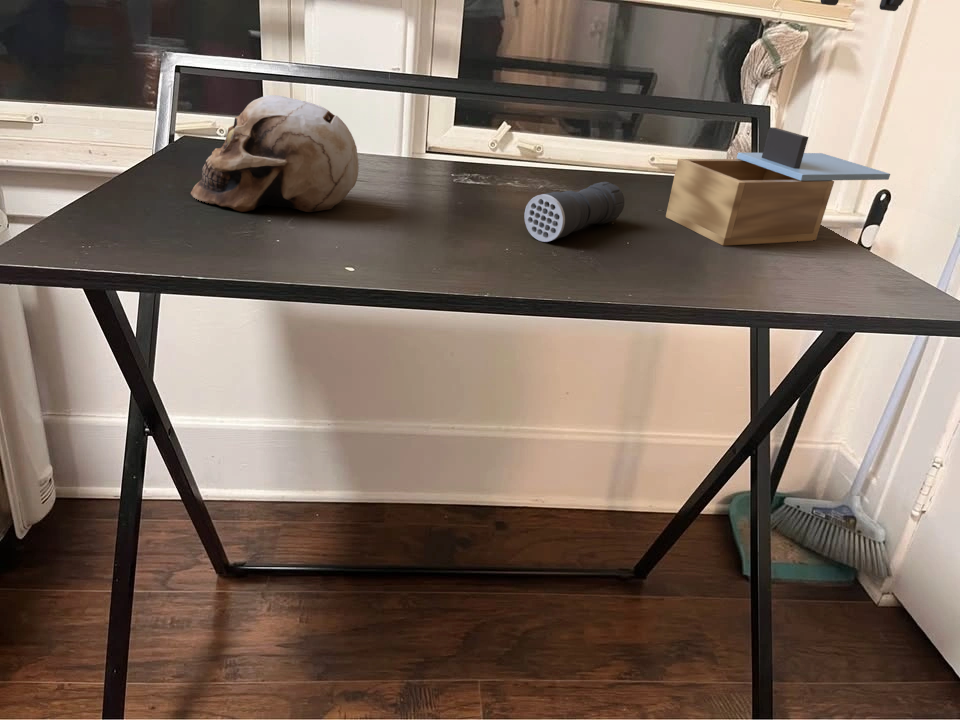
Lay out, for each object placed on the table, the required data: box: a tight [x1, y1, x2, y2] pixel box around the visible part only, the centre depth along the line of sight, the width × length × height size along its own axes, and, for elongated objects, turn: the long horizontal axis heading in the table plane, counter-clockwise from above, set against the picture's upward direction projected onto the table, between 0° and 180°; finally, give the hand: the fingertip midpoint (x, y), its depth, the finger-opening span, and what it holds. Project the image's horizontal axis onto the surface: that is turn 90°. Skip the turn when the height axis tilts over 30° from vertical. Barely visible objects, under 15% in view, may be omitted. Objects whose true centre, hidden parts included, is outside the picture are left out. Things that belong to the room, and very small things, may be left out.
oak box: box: [665, 158, 835, 247], centre depth 99 cm, size 12×16×8 cm
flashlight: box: [523, 181, 625, 243], centre depth 92 cm, size 15×5×5 cm, turn 140°
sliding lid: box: [736, 126, 891, 181], centre depth 101 cm, size 12×16×5 cm
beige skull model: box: [190, 94, 360, 213], centre depth 89 cm, size 16×17×13 cm
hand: (857, 7), depth 86 cm, fingers open, 8 cm apart
